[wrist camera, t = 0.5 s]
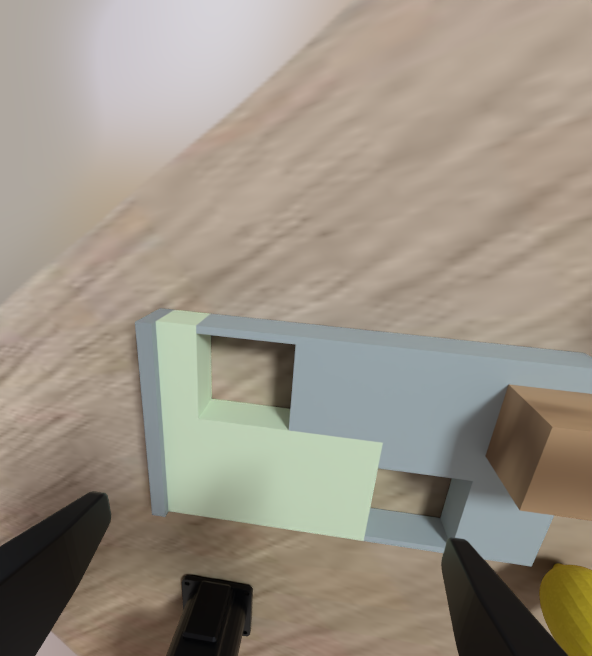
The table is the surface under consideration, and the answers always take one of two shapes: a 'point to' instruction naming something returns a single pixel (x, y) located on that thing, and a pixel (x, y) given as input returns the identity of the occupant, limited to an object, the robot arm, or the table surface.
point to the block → (545, 450)
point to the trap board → (342, 431)
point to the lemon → (568, 607)
